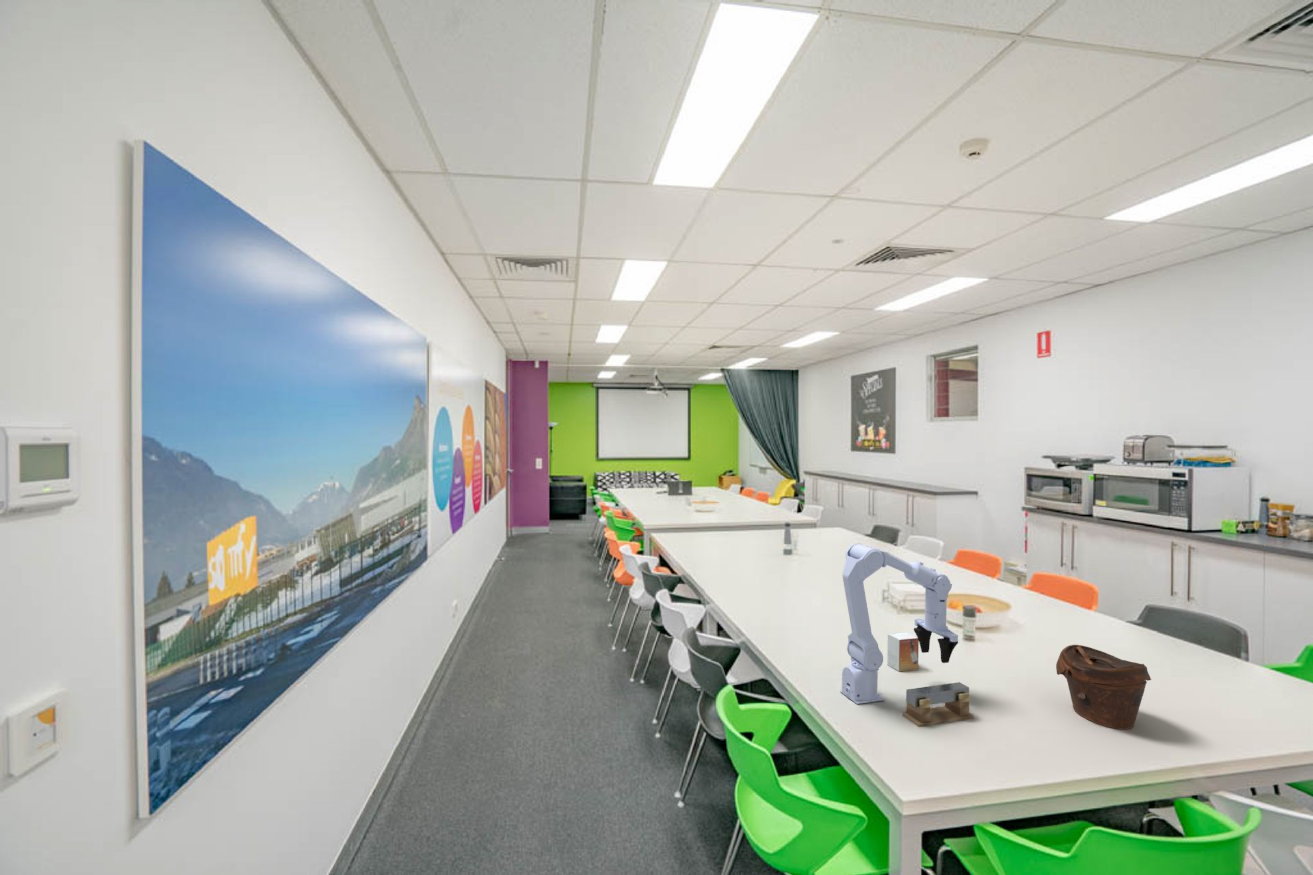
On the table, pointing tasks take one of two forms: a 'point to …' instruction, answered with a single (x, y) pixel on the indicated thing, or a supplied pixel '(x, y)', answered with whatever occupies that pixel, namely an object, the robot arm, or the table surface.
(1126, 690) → the case
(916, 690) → the rail
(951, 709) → the rack
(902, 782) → the table surface
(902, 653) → the small box
